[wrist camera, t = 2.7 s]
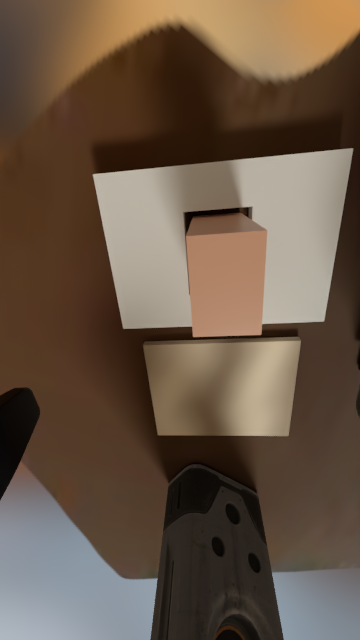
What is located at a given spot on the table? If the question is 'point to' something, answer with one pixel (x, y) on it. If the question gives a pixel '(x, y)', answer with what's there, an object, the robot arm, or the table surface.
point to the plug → (226, 274)
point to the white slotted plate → (222, 193)
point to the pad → (223, 385)
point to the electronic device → (214, 563)
